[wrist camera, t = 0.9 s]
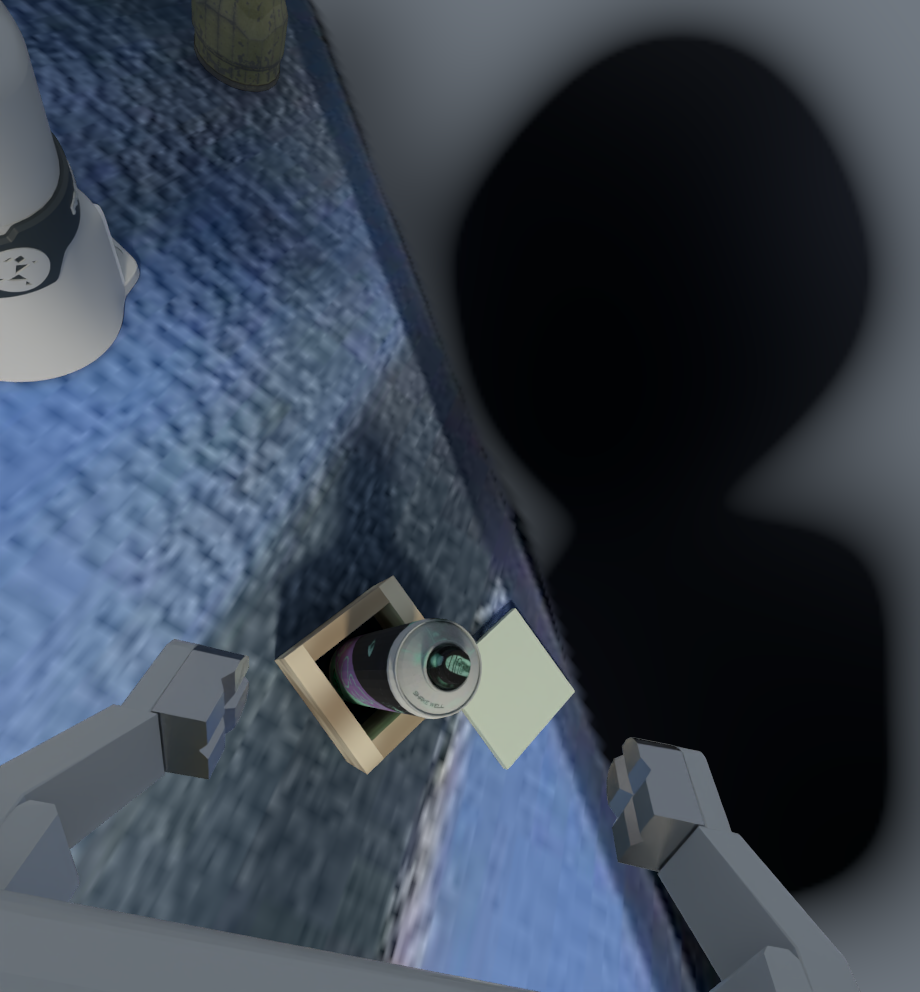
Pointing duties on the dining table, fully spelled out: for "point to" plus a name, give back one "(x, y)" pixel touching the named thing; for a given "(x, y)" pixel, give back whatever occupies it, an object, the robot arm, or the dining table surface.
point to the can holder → (298, 664)
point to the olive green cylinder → (241, 40)
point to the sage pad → (514, 689)
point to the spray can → (409, 669)
